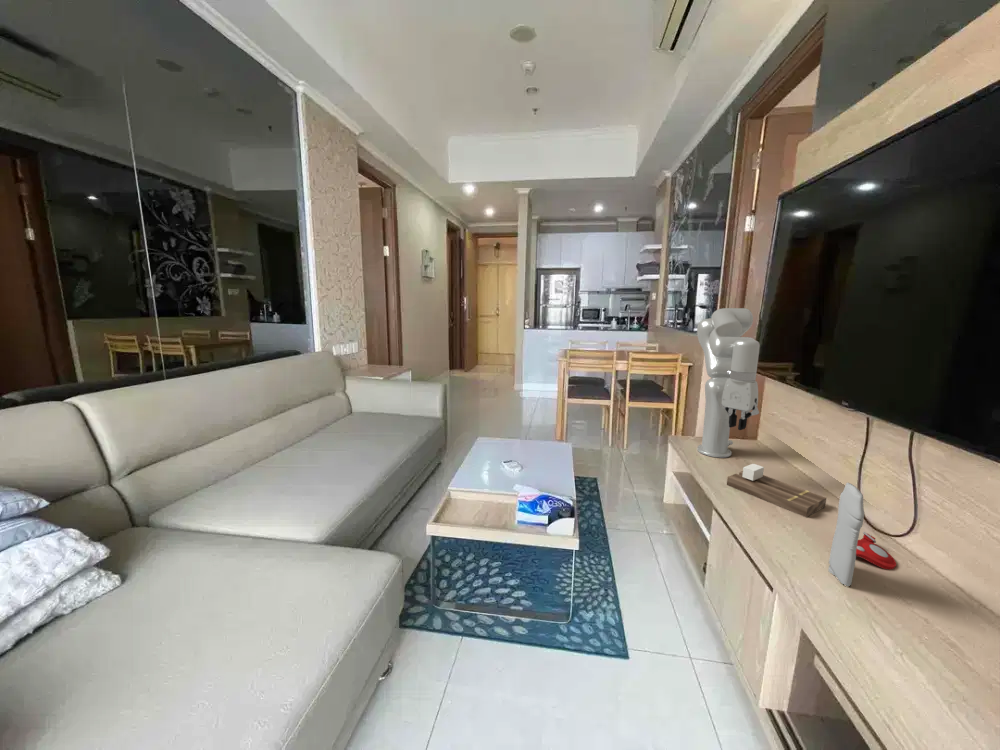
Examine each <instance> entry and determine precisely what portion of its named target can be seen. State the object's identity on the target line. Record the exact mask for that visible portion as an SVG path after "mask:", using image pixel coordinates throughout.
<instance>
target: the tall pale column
mask: <svg viewBox="0 0 1000 750" xmlns="http://www.w3.org/2000/svg"><path fill="white" fill-rule="evenodd" d="M839 495H840V496H839V501H838V509H837V510H838V512H837V520H836V526H835V531H834V534H833V537H832V538H833V539H832V542H831V549H830V554H829V559H828V564H830V565H829V566H828V572H829V573H830V574H831V573H832V574H833V576H834V575H835V576H836V577H837V578H838V579H837V578H836V577H835V576H834V577H835V578H836V579H837V580H839V581H840V582H841V583H842V584H844V585H846V586H850V585H852V583H853V576H854V569H855V567H856V566H855V565H856V559H857V556H856V549H857V542H858V540H859V538H860V537H859V536H860V533H861V529H862V527H863V525H864V524H863V523H864V519H865V510H864V496H863V495H864V494H863V493H862V491H860V490H859V488H858V487H856V486H855V485H853V484H852V483H850V482H846V484H845V486H844V488H843V491H842V492H841V493H840V494H839ZM832 574H831V575H832ZM839 581H838V582H839ZM840 582H839V583H840ZM841 583H840V584H841ZM842 584H841V585H842ZM844 585H843V586H844ZM846 586H845V587H846ZM850 587H851V586H850Z"/></svg>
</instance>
